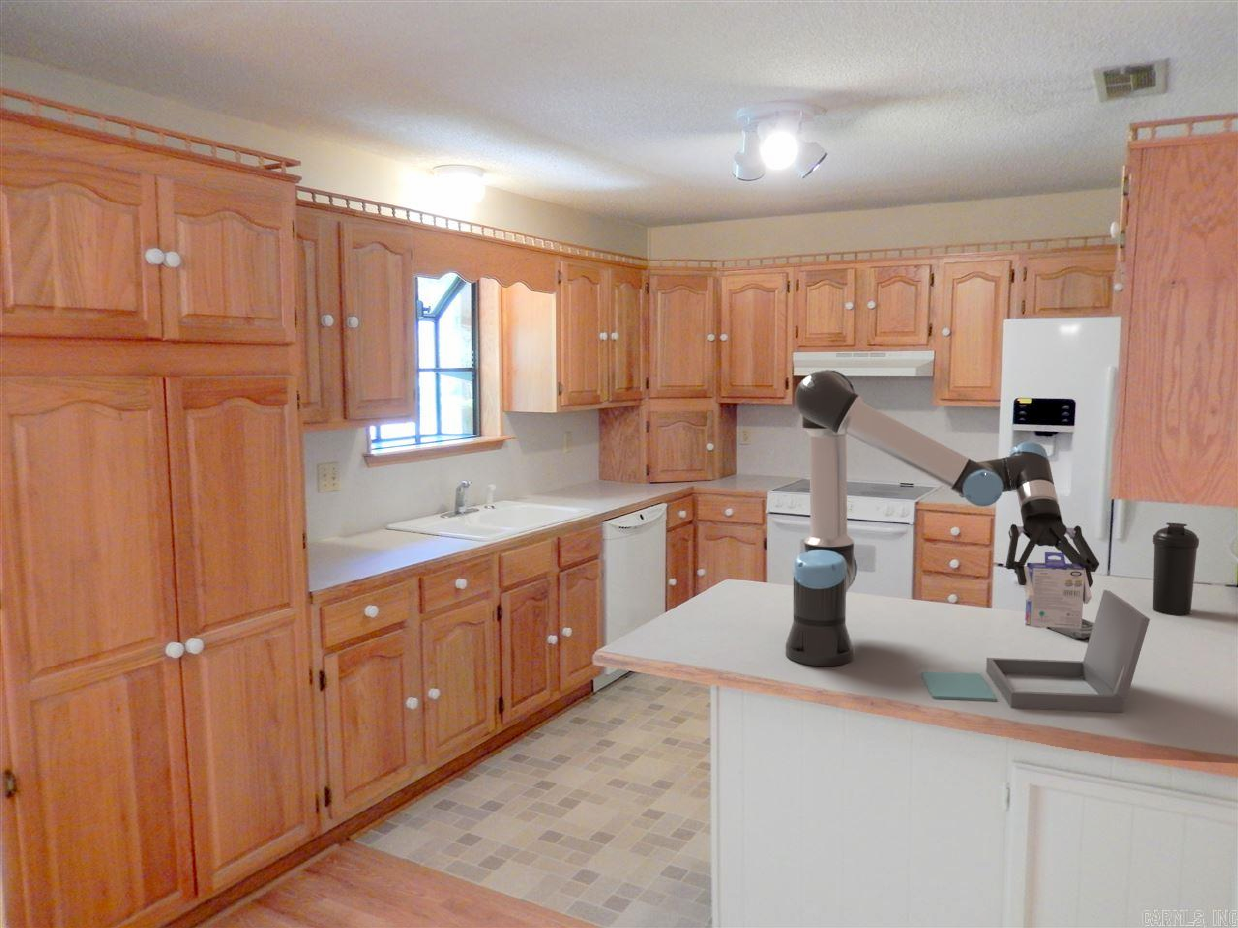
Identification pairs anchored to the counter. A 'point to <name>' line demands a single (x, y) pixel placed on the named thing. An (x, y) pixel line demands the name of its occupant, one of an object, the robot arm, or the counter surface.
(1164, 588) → the water bottle
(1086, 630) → the graphics card
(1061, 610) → the ink cartridge box
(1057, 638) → the counter surface
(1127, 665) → the equipment case
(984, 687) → the teal mat
